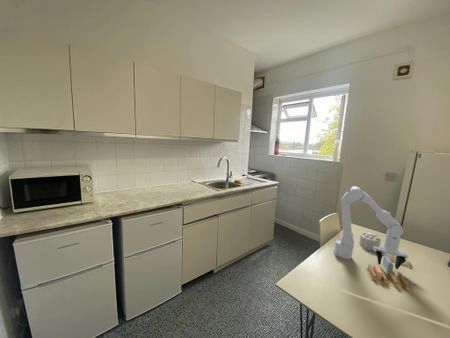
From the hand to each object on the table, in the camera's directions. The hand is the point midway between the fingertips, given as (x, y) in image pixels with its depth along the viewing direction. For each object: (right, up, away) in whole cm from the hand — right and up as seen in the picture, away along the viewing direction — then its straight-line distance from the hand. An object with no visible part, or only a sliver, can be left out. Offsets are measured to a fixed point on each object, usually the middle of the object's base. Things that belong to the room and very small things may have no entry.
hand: (387, 265), depth 104 cm
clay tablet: (+14, -3, +8) cm, 16 cm away
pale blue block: (0, -2, 0) cm, 3 cm away
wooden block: (-11, -2, -6) cm, 13 cm away
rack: (-8, -3, -8) cm, 12 cm away
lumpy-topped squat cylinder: (+9, 0, +25) cm, 26 cm away
